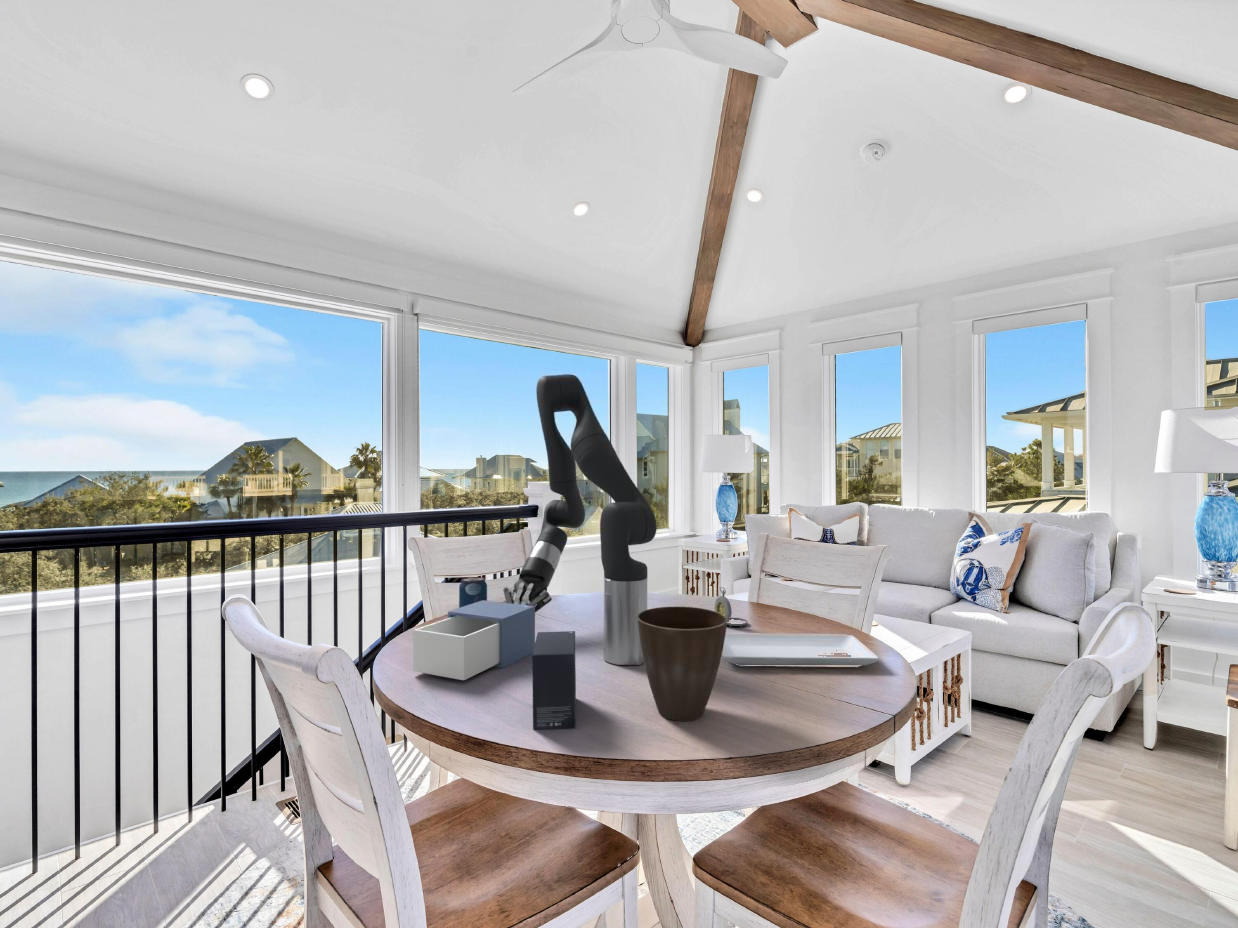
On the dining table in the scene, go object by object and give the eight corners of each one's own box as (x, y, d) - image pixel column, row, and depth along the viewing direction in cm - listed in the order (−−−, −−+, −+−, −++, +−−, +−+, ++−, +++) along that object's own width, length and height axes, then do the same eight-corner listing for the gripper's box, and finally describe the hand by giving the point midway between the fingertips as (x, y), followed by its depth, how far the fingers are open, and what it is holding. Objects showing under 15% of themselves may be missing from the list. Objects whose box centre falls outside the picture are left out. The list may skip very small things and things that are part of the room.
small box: (536, 698, 109) (537, 630, 109) (575, 697, 110) (576, 630, 110) (531, 730, 96) (531, 653, 96) (575, 729, 97) (576, 652, 97)
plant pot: (744, 711, 104) (744, 615, 104) (692, 740, 93) (693, 633, 93) (672, 689, 114) (672, 602, 114) (618, 713, 103) (618, 617, 103)
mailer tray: (533, 646, 138) (533, 609, 138) (463, 680, 116) (463, 637, 116) (488, 639, 143) (488, 604, 143) (413, 670, 121) (413, 629, 121)
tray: (881, 674, 124) (881, 656, 124) (723, 672, 124) (723, 654, 124) (852, 649, 140) (852, 633, 140) (712, 647, 141) (712, 632, 141)
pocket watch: (751, 623, 161) (751, 585, 161) (739, 630, 154) (739, 590, 154) (721, 619, 166) (722, 581, 166) (709, 626, 159) (709, 587, 159)
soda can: (480, 629, 154) (481, 581, 154) (454, 628, 155) (454, 580, 155) (491, 622, 161) (491, 576, 161) (465, 621, 162) (465, 575, 162)
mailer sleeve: (534, 651, 136) (535, 606, 136) (502, 667, 125) (503, 618, 125) (482, 643, 142) (482, 600, 142) (447, 658, 131) (447, 611, 131)
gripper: (512, 553, 152) (481, 614, 141) (559, 557, 147) (530, 621, 135) (524, 571, 157) (494, 632, 146) (569, 576, 151) (543, 639, 140)
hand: (512, 626), depth 141 cm, fingers closed
